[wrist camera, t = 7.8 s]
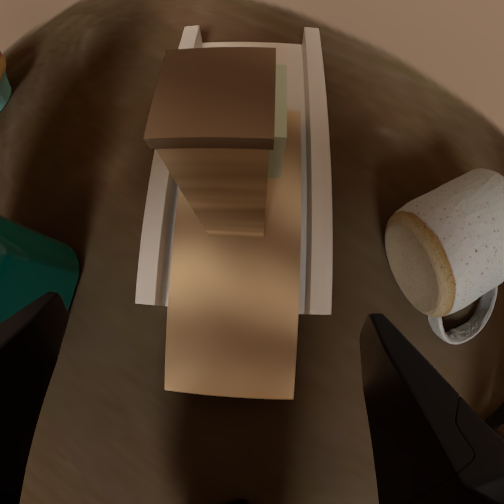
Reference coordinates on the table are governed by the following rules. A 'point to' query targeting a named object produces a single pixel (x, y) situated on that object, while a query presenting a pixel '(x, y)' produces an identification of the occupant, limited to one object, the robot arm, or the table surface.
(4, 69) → the cupcake
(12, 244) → the green bottle
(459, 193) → the ceramic mug
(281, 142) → the block
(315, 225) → the lane board
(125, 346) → the table surface
